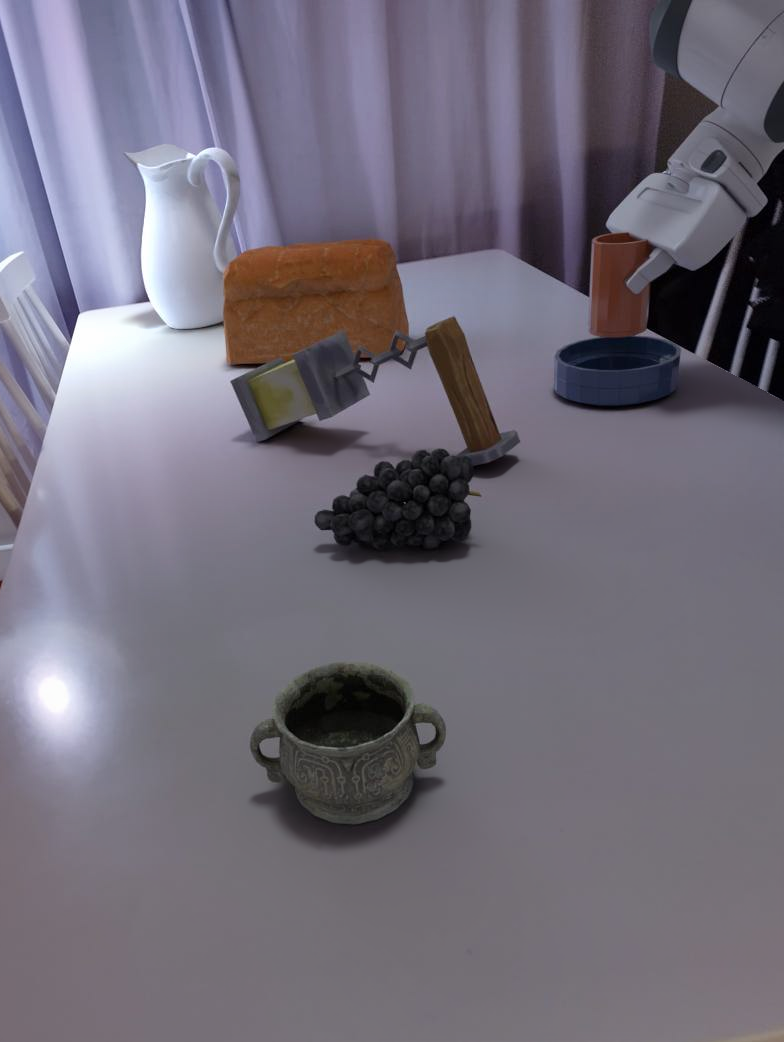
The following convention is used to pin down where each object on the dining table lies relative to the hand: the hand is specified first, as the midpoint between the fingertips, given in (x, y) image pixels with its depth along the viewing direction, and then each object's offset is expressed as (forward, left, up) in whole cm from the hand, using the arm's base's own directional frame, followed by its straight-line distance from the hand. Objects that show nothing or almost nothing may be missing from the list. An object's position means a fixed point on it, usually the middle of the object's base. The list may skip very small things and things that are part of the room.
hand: (615, 282), depth 106 cm
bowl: (-1, 0, -13) cm, 13 cm away
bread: (+36, -30, -13) cm, 49 cm away
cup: (-1, 0, -5) cm, 5 cm away
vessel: (+30, +68, -13) cm, 75 cm away
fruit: (+26, +35, -13) cm, 45 cm away
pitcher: (+56, -55, -13) cm, 80 cm away
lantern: (+28, +11, -13) cm, 33 cm away
